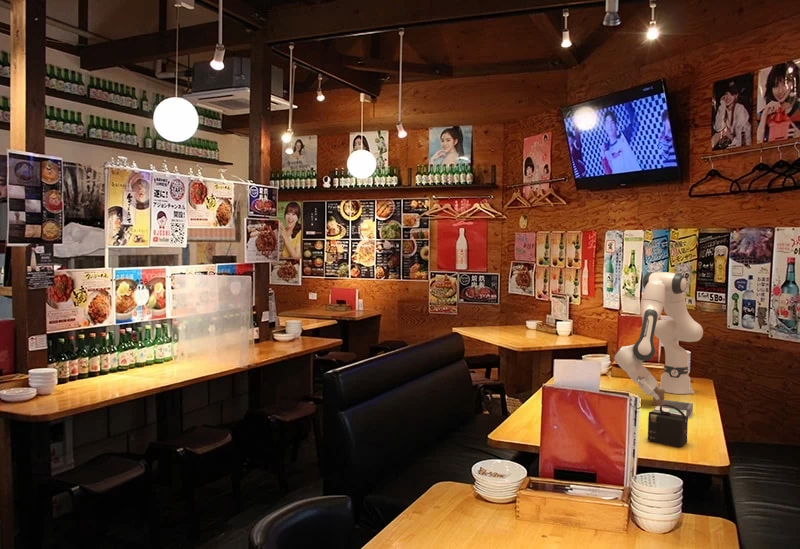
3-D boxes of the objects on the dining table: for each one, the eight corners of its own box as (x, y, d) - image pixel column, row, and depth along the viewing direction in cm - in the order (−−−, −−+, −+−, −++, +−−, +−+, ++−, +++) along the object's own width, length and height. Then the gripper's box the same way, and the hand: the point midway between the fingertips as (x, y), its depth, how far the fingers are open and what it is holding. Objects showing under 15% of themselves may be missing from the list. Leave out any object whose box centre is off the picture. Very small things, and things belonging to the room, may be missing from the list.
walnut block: (654, 404, 320) (654, 388, 320) (664, 405, 318) (664, 389, 318) (652, 406, 316) (653, 390, 316) (662, 407, 314) (663, 391, 314)
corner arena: (656, 407, 313) (657, 398, 312) (692, 412, 304) (692, 403, 304) (652, 413, 302) (653, 404, 302) (689, 418, 294) (690, 409, 293)
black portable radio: (653, 435, 267) (655, 399, 266) (689, 442, 258) (690, 405, 258) (645, 441, 259) (646, 404, 258) (681, 448, 250) (682, 410, 249)
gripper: (641, 374, 311) (662, 397, 307) (648, 368, 329) (668, 389, 324) (631, 382, 313) (651, 405, 309) (638, 375, 331) (658, 396, 327)
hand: (660, 397), depth 317 cm, fingers open, 8 cm apart
